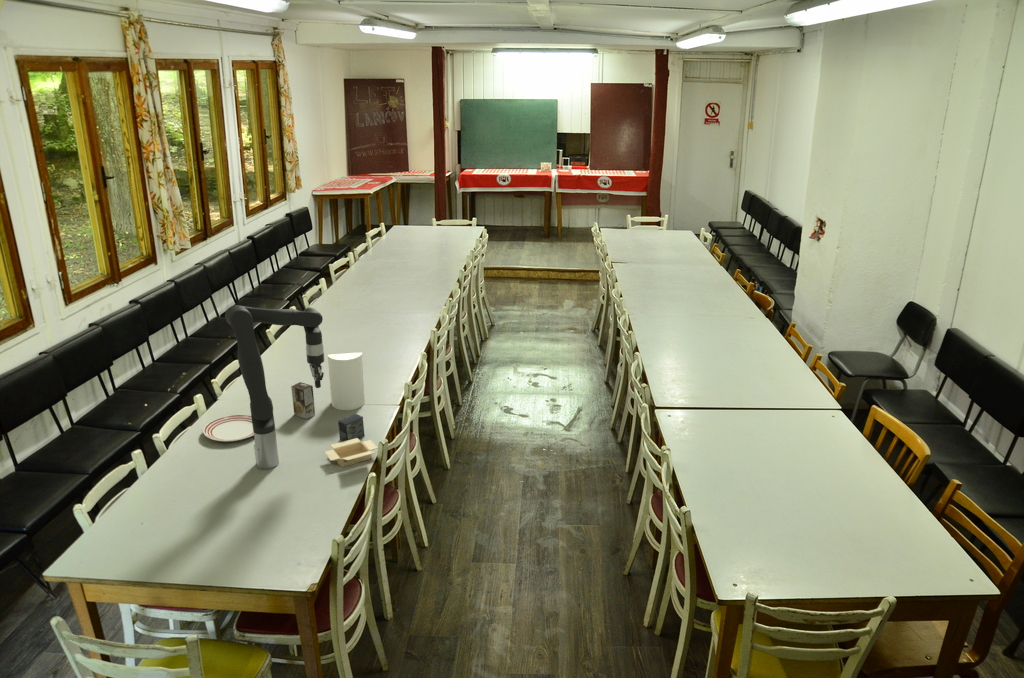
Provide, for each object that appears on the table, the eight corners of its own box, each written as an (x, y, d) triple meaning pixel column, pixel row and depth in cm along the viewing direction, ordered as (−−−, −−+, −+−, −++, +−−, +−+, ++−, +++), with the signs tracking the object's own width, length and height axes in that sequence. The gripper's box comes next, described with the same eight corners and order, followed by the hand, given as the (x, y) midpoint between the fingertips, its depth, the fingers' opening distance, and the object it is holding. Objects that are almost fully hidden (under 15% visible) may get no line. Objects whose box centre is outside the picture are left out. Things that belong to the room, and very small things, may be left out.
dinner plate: (263, 416, 384) (262, 410, 383) (264, 441, 360) (263, 435, 359) (205, 423, 376) (204, 417, 375) (202, 450, 352) (201, 443, 351)
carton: (332, 469, 337) (331, 461, 336) (321, 455, 348) (320, 447, 347) (378, 456, 348) (378, 448, 347) (367, 443, 360) (366, 435, 358)
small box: (356, 431, 370) (355, 412, 366) (365, 436, 366) (363, 416, 363) (338, 439, 363) (337, 420, 359) (347, 444, 359) (346, 424, 355)
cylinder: (365, 408, 393) (362, 358, 383) (331, 411, 390) (327, 361, 380) (364, 394, 409) (361, 346, 399) (331, 396, 406) (327, 348, 395)
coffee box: (315, 414, 386) (313, 385, 380) (306, 419, 381) (303, 390, 375) (303, 409, 391) (300, 381, 385) (293, 414, 386) (290, 385, 380)
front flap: (341, 459, 338) (348, 460, 330) (341, 458, 338) (347, 459, 330) (369, 451, 344) (376, 453, 336) (369, 451, 344) (375, 452, 336)
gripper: (302, 348, 341) (305, 383, 347) (311, 358, 331) (314, 394, 337) (318, 345, 345) (321, 380, 351) (328, 355, 334) (331, 391, 341)
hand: (318, 387), depth 344 cm, fingers closed
